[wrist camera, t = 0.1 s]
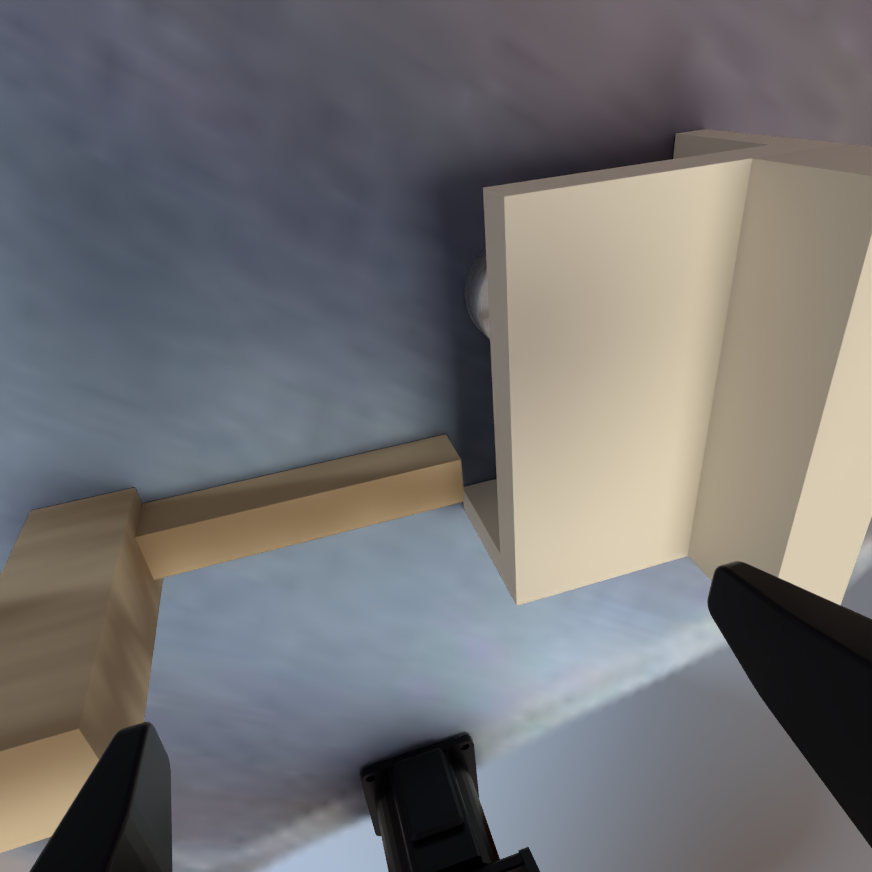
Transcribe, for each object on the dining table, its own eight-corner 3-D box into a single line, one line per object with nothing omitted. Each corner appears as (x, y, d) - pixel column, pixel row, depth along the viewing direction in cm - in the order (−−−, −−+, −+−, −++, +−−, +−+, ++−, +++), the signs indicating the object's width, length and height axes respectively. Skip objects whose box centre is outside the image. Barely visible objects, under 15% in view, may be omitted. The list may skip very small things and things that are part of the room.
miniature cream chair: (664, 458, 29) (839, 609, 21) (463, 509, 27) (567, 698, 19) (705, 129, 22) (998, 159, 14) (435, 167, 20) (582, 230, 12)
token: (562, 328, 24) (586, 346, 23) (466, 347, 24) (484, 367, 22) (564, 223, 22) (591, 235, 21) (459, 241, 22) (478, 254, 20)
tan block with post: (450, 488, 26) (552, 676, 18) (69, 583, 24) (-18, 858, 15) (444, 418, 25) (553, 590, 16) (30, 510, 22) (-95, 779, 13)
